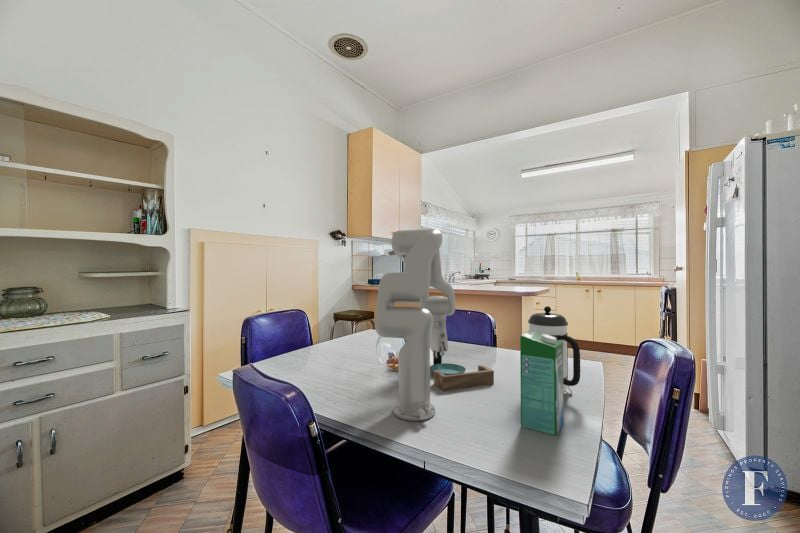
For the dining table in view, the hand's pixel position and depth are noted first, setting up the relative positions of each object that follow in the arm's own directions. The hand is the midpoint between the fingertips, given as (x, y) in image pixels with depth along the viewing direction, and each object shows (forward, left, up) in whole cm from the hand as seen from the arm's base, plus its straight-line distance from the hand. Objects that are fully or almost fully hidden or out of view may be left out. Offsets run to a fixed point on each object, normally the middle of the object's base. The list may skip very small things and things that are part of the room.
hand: (437, 366), depth 145 cm
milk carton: (-58, -3, -1) cm, 58 cm away
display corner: (-22, 0, -1) cm, 22 cm away
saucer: (-9, 0, -1) cm, 9 cm away
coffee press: (-41, -24, -1) cm, 47 cm away
